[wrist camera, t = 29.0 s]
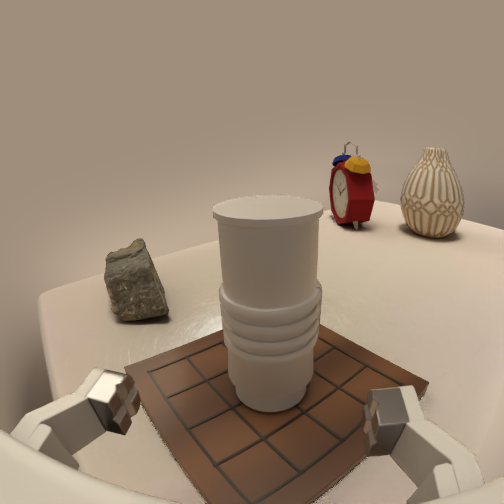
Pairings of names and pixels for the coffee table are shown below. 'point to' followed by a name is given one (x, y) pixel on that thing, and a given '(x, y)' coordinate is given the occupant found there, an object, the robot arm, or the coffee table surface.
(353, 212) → the alarm clock
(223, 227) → the white travel cup
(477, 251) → the coffee table surface
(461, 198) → the vase
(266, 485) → the grid board
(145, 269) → the rock
